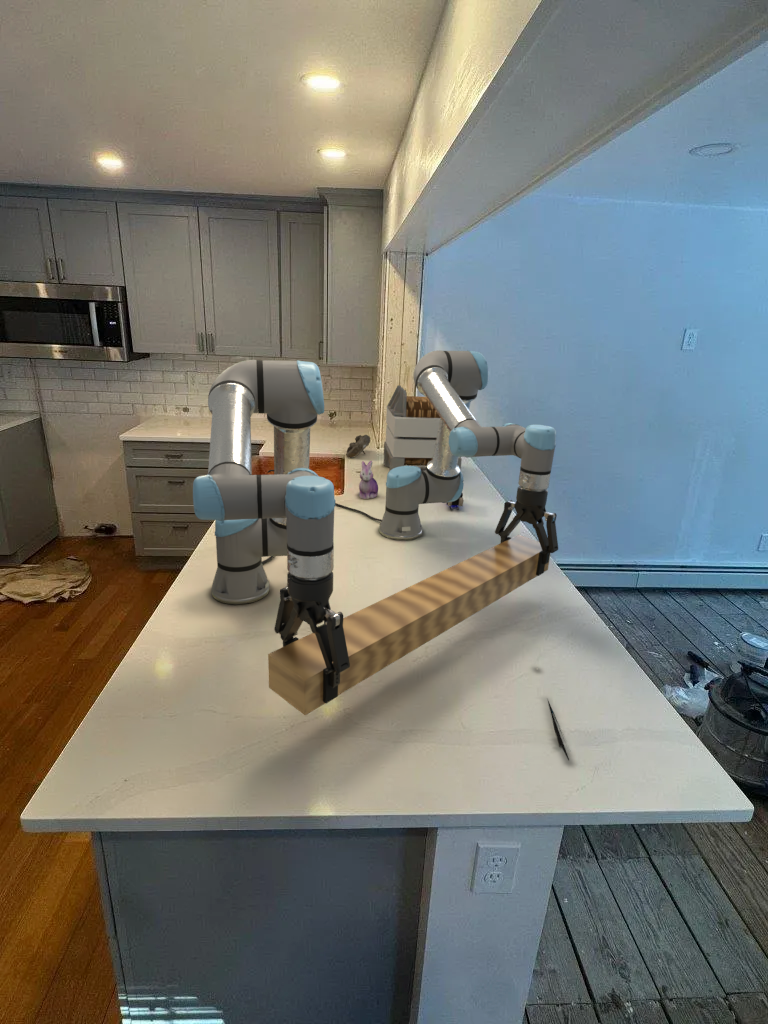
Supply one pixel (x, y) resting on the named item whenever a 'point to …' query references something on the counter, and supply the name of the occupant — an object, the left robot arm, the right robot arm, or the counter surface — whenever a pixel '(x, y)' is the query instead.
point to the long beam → (404, 621)
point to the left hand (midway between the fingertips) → (310, 684)
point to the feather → (557, 730)
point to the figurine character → (456, 502)
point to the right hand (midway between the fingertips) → (521, 567)
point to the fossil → (358, 446)
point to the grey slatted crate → (410, 431)
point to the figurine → (367, 482)
